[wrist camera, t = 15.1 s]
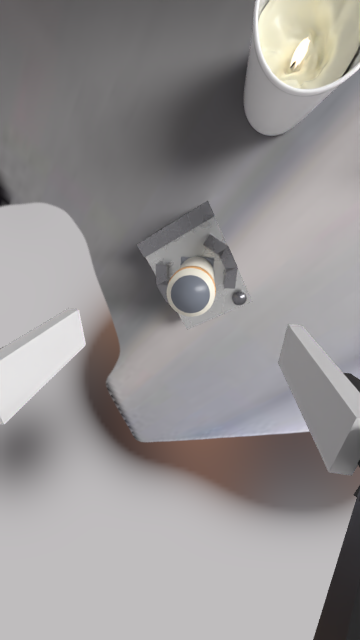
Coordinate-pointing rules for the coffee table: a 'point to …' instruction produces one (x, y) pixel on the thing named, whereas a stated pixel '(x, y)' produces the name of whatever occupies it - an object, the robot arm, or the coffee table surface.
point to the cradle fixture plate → (196, 241)
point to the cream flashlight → (192, 286)
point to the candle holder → (298, 59)
